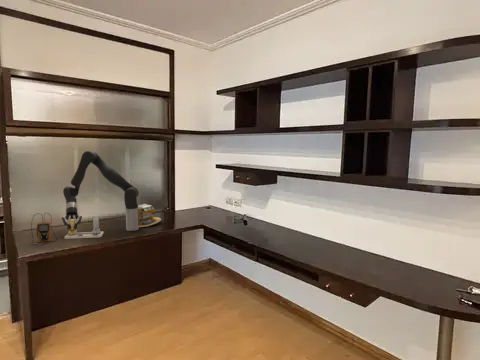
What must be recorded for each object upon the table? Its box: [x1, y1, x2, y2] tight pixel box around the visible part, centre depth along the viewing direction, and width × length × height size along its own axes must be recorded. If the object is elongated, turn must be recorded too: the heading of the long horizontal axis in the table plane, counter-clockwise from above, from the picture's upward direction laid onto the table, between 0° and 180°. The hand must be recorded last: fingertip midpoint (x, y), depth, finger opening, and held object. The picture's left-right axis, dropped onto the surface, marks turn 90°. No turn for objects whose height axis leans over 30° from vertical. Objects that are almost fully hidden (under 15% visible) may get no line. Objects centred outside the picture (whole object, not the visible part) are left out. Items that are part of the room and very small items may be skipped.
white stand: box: [64, 217, 105, 240], centre depth 237 cm, size 24×10×13 cm, turn 102°
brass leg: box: [67, 219, 78, 236], centre depth 234 cm, size 4×6×11 cm
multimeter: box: [30, 212, 58, 246], centre depth 220 cm, size 15×10×20 cm
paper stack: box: [138, 203, 162, 228], centre depth 273 cm, size 25×25×17 cm
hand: (72, 229), depth 233 cm, fingers closed on brass leg, 3 cm apart
